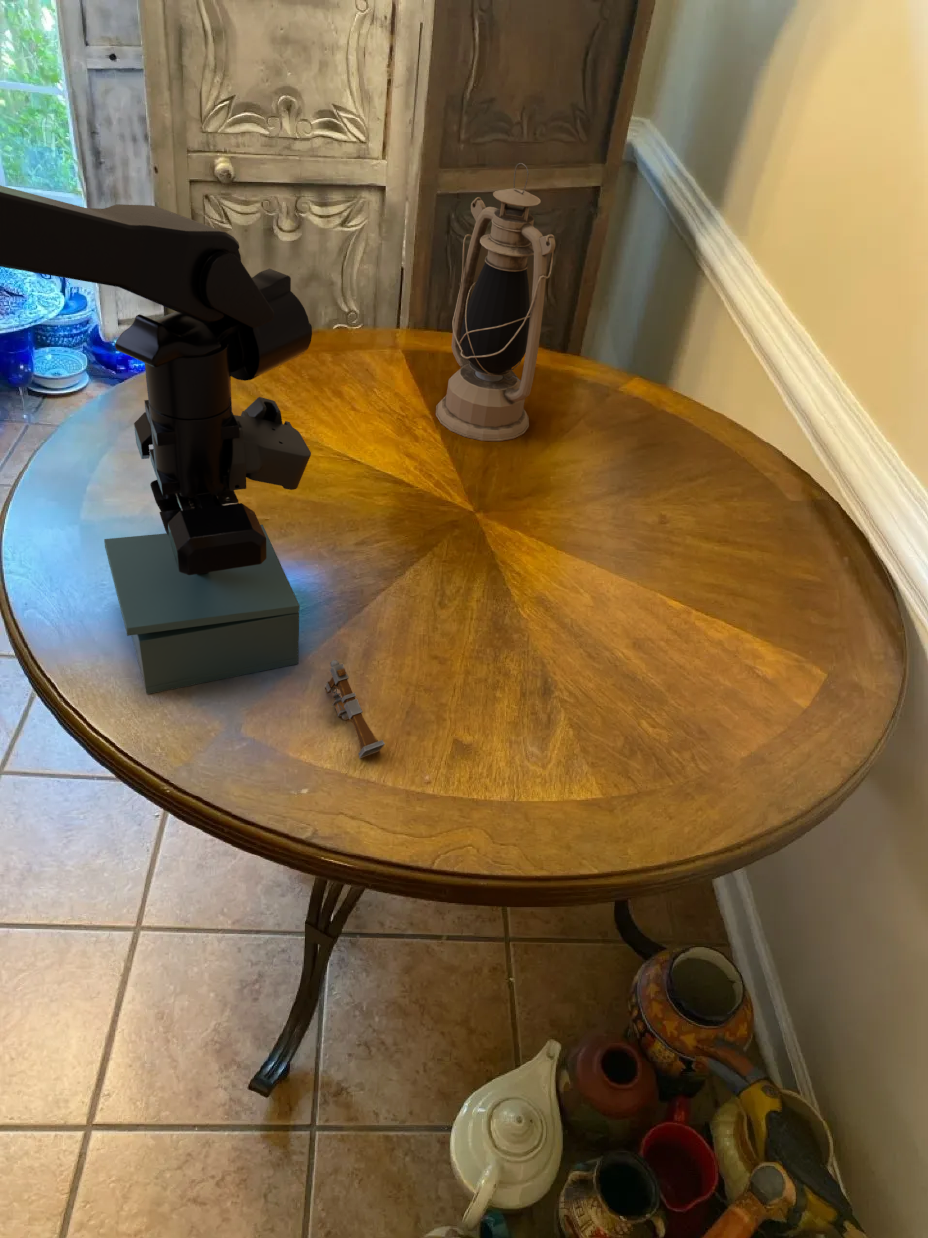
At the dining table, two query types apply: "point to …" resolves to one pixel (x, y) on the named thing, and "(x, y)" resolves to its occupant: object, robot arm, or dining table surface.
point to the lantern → (497, 321)
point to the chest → (216, 651)
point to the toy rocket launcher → (351, 709)
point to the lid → (191, 588)
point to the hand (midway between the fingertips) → (202, 571)
